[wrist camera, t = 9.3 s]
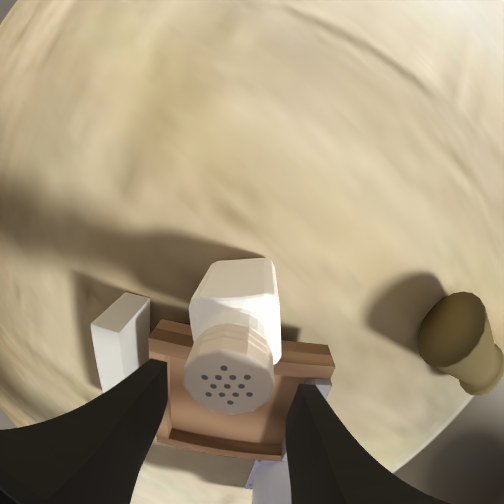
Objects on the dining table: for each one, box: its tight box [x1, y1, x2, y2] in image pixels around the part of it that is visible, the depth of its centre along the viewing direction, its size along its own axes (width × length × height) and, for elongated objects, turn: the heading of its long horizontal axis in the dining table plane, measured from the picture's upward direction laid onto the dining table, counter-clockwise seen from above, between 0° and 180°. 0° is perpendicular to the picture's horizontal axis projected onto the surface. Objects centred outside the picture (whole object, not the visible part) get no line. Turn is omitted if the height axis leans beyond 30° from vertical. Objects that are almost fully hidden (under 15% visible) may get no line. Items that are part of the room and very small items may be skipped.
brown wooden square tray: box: [148, 319, 335, 462], centre depth 18 cm, size 11×11×4 cm
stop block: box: [90, 292, 150, 393], centre depth 17 cm, size 12×2×5 cm, turn 171°
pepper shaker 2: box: [418, 292, 504, 395], centre depth 16 cm, size 6×6×11 cm
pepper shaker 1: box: [183, 258, 281, 415], centre depth 13 cm, size 4×4×10 cm
